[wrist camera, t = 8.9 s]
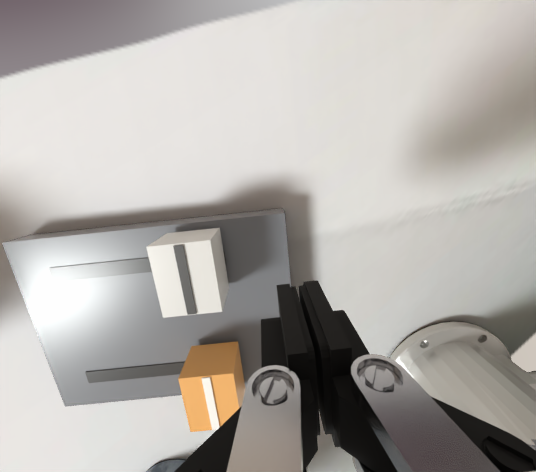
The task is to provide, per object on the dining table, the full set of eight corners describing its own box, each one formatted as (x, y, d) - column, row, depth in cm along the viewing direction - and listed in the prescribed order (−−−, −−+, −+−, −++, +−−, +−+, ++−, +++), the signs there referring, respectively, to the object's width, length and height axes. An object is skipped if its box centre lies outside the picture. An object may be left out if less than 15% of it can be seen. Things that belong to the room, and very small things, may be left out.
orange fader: (238, 341, 22) (233, 374, 18) (245, 388, 23) (242, 428, 19) (191, 346, 22) (177, 379, 18) (201, 393, 23) (190, 433, 19)
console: (282, 208, 22) (284, 213, 19) (296, 363, 26) (299, 384, 23) (30, 234, 22) (0, 243, 19) (83, 384, 26) (64, 407, 23)
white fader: (219, 227, 19) (209, 240, 16) (229, 288, 20) (221, 312, 17) (167, 233, 19) (145, 247, 16) (179, 293, 20) (162, 318, 17)
